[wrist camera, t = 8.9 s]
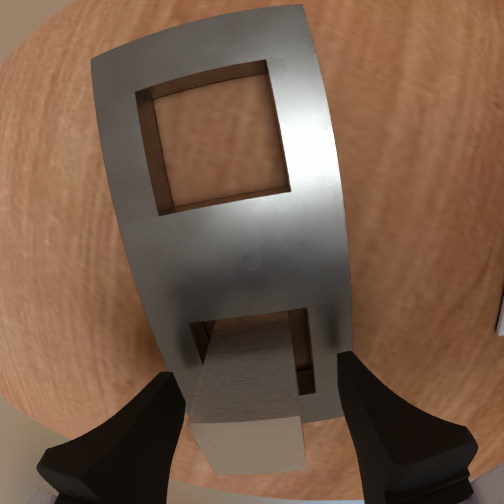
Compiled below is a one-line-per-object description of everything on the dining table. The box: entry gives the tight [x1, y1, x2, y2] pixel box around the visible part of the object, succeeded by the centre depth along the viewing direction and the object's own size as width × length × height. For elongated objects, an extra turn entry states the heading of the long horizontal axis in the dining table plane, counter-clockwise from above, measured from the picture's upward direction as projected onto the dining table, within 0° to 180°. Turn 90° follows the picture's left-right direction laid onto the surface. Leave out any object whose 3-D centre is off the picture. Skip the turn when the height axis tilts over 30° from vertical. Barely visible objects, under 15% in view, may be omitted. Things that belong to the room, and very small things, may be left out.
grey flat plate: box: [90, 4, 352, 423], centre depth 13 cm, size 9×20×2 cm, turn 10°
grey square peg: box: [187, 310, 307, 475], centre depth 12 cm, size 4×4×7 cm
